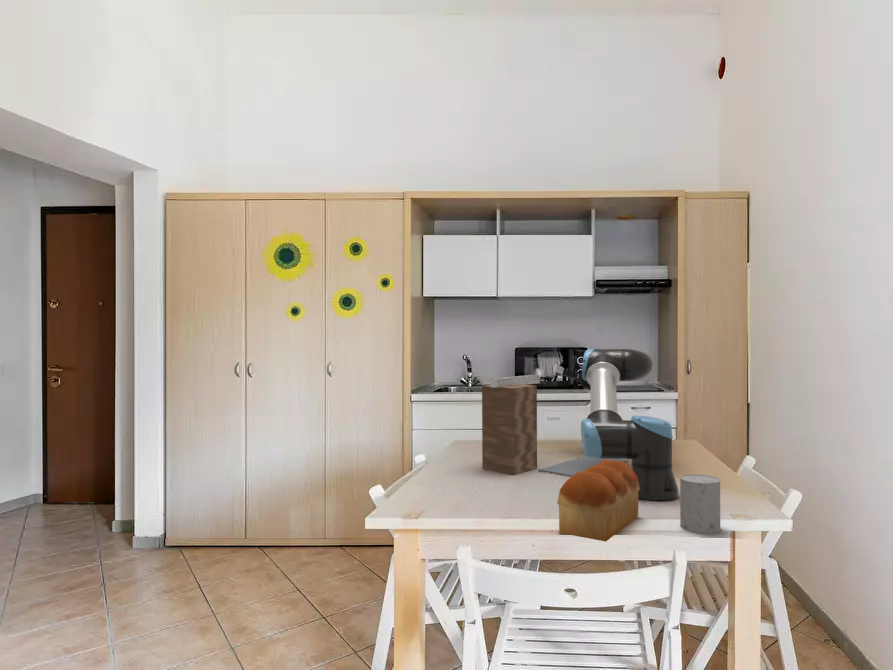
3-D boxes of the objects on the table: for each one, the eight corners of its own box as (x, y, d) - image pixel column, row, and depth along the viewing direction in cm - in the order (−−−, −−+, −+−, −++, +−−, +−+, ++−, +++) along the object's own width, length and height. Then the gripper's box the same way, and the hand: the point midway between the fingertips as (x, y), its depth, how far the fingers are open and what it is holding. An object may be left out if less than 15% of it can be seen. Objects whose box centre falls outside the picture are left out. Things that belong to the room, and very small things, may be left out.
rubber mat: (590, 456, 251) (590, 454, 251) (627, 461, 240) (627, 460, 240) (538, 471, 225) (538, 469, 225) (577, 478, 214) (577, 476, 214)
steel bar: (533, 382, 242) (533, 374, 242) (539, 383, 239) (539, 375, 239) (490, 387, 222) (490, 378, 222) (497, 387, 220) (497, 379, 220)
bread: (606, 543, 148) (606, 479, 148) (557, 533, 155) (556, 473, 155) (640, 517, 169) (639, 461, 169) (595, 509, 176) (594, 456, 176)
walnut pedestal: (506, 463, 238) (505, 383, 238) (537, 468, 228) (536, 385, 228) (482, 469, 228) (482, 386, 228) (513, 475, 218) (513, 388, 218)
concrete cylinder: (682, 532, 156) (682, 482, 156) (677, 520, 165) (677, 473, 165) (724, 534, 153) (723, 484, 153) (717, 523, 163) (716, 475, 163)
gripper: (619, 396, 250) (598, 385, 234) (563, 385, 266) (540, 374, 249) (624, 378, 251) (603, 366, 235) (568, 367, 267) (544, 356, 250)
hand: (570, 370), depth 242 cm, fingers open, 13 cm apart
